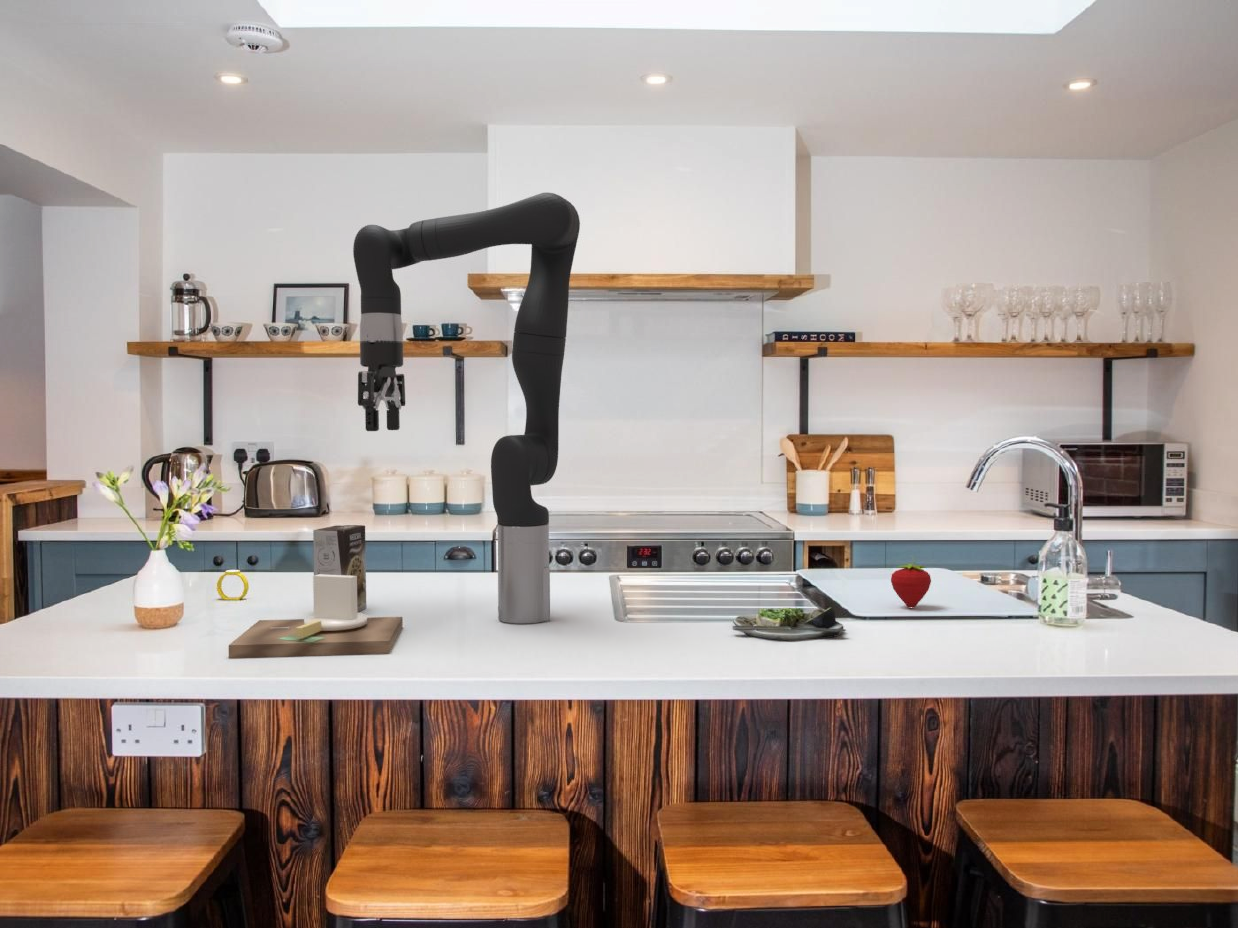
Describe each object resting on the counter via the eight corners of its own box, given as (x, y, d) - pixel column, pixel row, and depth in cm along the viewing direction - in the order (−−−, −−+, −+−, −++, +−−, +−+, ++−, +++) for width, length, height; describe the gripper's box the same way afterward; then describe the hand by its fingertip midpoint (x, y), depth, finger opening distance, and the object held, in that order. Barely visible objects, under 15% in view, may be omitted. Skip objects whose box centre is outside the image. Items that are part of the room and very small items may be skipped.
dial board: (402, 628, 169) (402, 616, 169) (389, 653, 151) (389, 640, 151) (259, 631, 166) (259, 619, 166) (228, 658, 148) (228, 644, 148)
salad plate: (754, 649, 154) (754, 620, 154) (708, 626, 171) (708, 600, 171) (860, 640, 161) (860, 612, 160) (805, 618, 178) (806, 593, 177)
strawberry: (885, 605, 187) (886, 553, 187) (923, 604, 188) (924, 553, 187) (896, 611, 182) (897, 558, 181) (936, 610, 182) (936, 557, 182)
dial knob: (326, 616, 167) (325, 569, 166) (378, 619, 164) (377, 572, 164) (270, 636, 152) (269, 585, 152) (327, 640, 149) (326, 588, 149)
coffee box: (345, 618, 177) (343, 530, 176) (313, 616, 179) (311, 529, 178) (368, 608, 186) (366, 524, 185) (337, 607, 187) (335, 523, 187)
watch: (249, 599, 197) (251, 570, 197) (243, 602, 194) (245, 572, 194) (220, 597, 197) (222, 568, 197) (214, 600, 194) (215, 570, 194)
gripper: (379, 343, 182) (381, 430, 183) (343, 337, 169) (344, 431, 169) (417, 342, 181) (418, 430, 182) (383, 336, 167) (384, 431, 168)
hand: (382, 430), depth 176 cm, fingers open, 8 cm apart
